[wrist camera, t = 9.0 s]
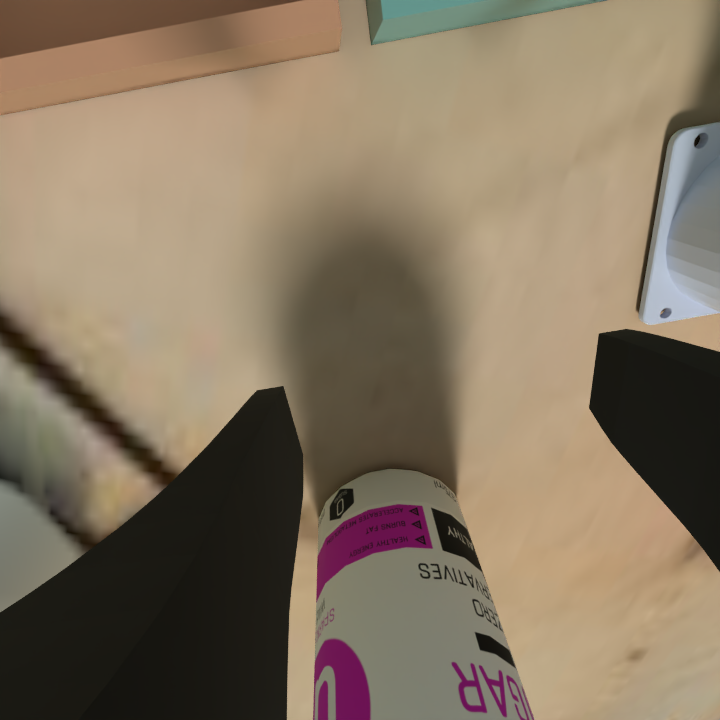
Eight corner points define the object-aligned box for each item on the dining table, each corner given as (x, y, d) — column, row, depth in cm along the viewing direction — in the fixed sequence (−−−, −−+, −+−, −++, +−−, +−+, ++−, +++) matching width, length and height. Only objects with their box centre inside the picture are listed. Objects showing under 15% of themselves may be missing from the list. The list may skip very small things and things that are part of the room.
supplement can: (303, 547, 26) (275, 981, 13) (344, 445, 22) (368, 902, 9) (423, 567, 27) (511, 969, 14) (480, 476, 24) (667, 898, 11)
